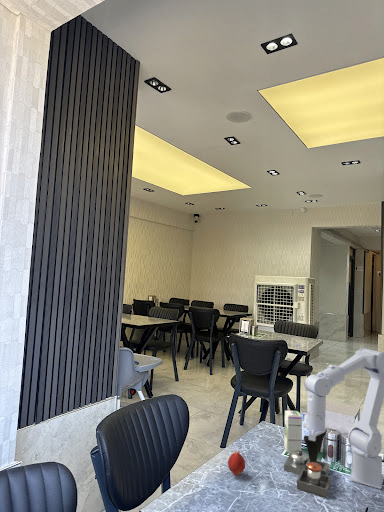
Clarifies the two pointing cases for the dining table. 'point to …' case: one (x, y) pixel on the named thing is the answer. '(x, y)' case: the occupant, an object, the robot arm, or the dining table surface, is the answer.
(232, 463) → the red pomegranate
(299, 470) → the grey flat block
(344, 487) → the dining table surface
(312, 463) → the pin
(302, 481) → the tray
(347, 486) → the dining table surface
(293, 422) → the syrup box
